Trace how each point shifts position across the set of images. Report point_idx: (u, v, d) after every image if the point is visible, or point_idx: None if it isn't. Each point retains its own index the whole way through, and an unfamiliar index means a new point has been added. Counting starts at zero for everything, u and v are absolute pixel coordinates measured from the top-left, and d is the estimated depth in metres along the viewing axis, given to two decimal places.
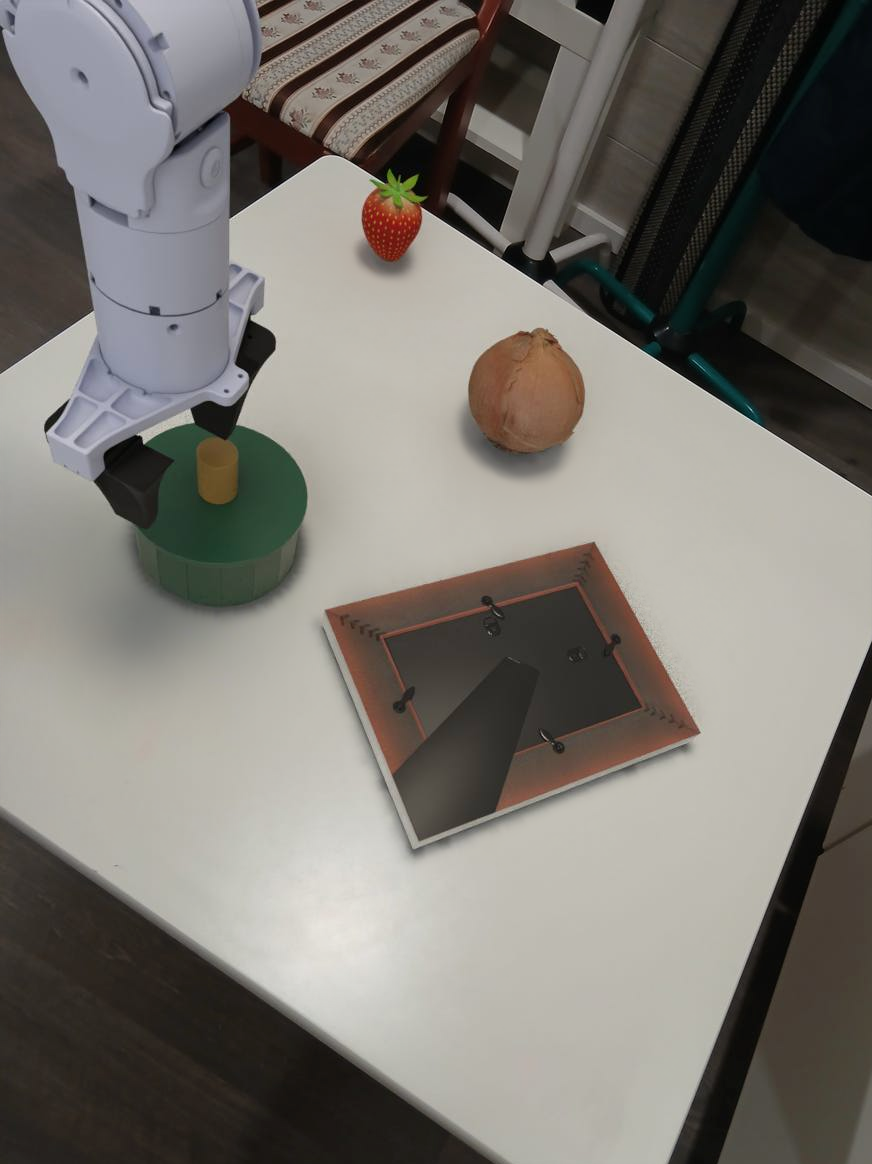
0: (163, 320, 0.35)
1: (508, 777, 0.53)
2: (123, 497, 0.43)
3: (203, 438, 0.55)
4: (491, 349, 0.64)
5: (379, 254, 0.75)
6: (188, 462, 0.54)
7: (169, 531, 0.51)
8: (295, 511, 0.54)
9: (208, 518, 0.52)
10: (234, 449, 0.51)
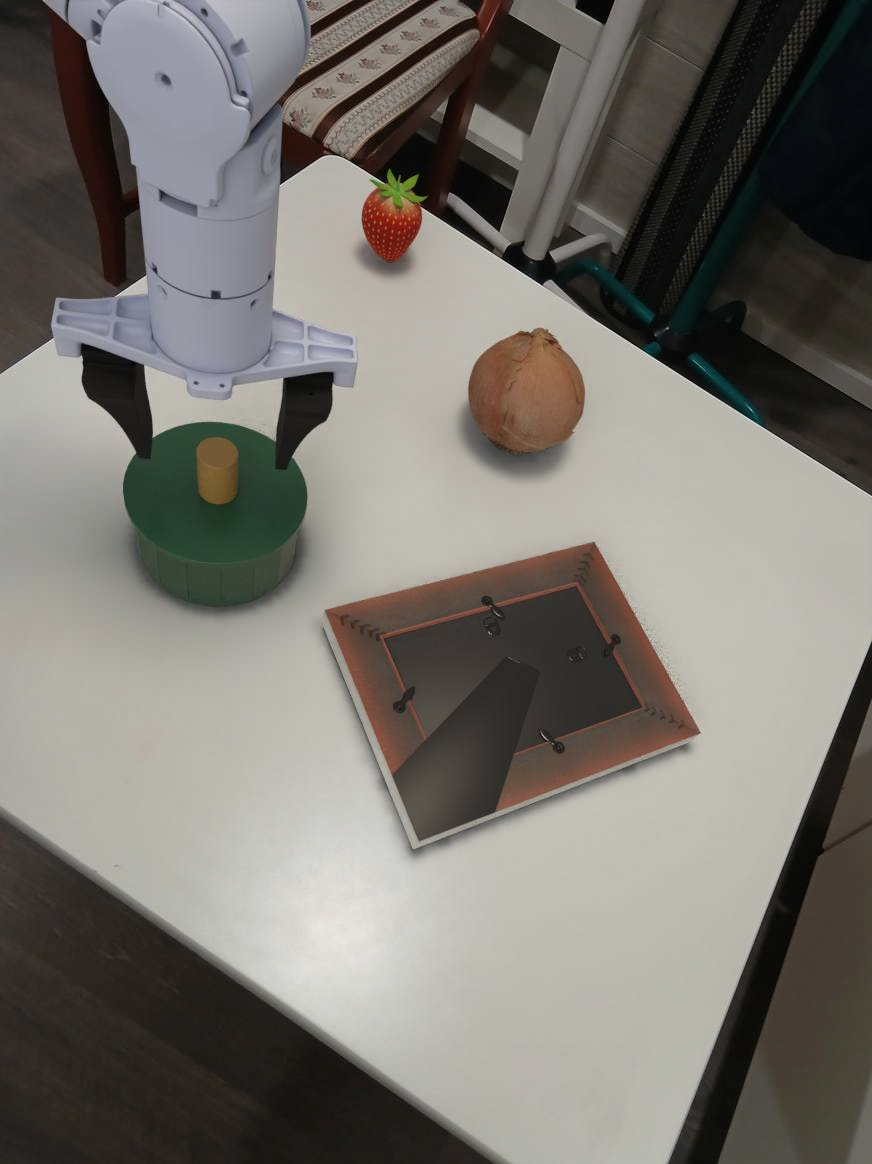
0: (155, 277, 0.37)
1: (508, 777, 0.53)
2: None
3: (203, 438, 0.55)
4: (491, 349, 0.64)
5: (379, 254, 0.75)
6: (188, 462, 0.54)
7: (169, 531, 0.51)
8: (295, 511, 0.54)
9: (208, 518, 0.52)
10: (234, 449, 0.51)
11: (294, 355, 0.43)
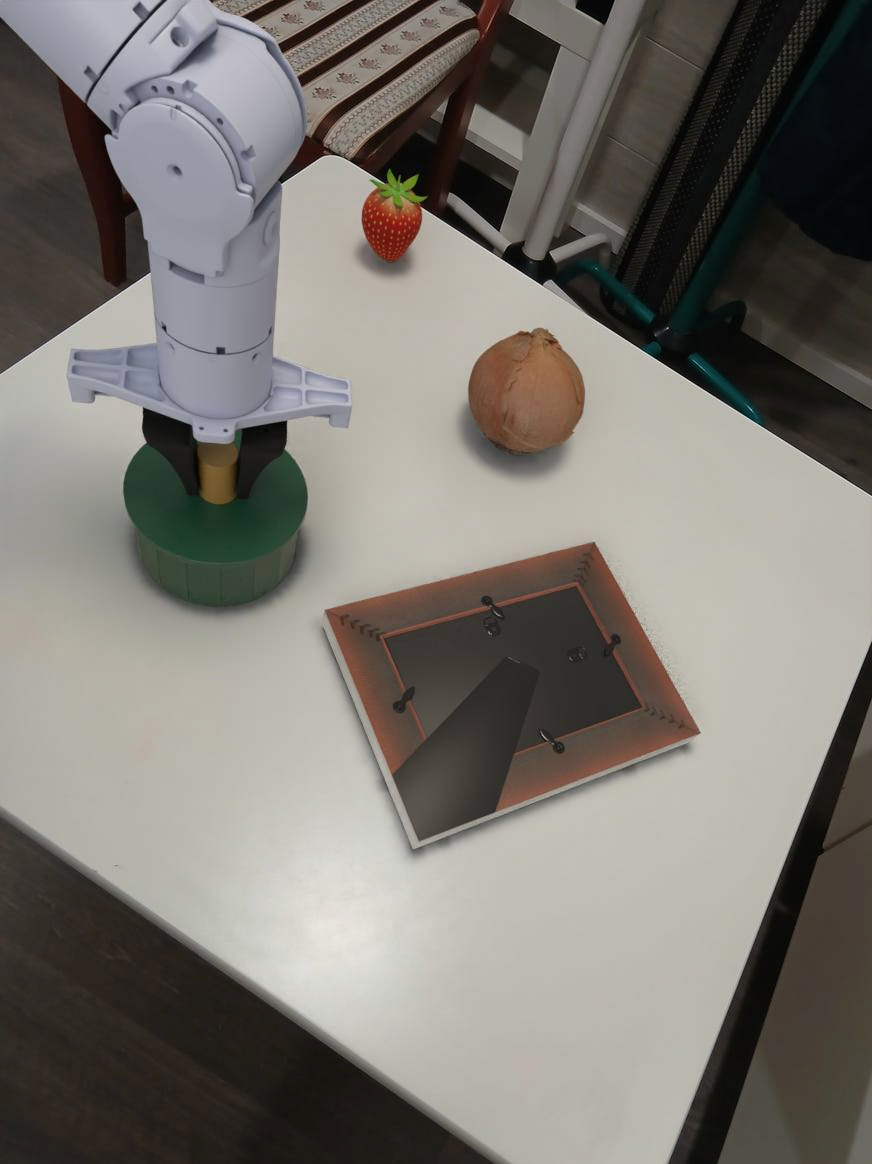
0: (164, 334, 0.40)
1: (508, 777, 0.53)
2: None
3: None
4: (491, 349, 0.64)
5: (379, 254, 0.75)
6: None
7: (169, 531, 0.51)
8: (296, 511, 0.54)
9: (208, 518, 0.52)
10: (235, 449, 0.51)
11: (293, 399, 0.46)
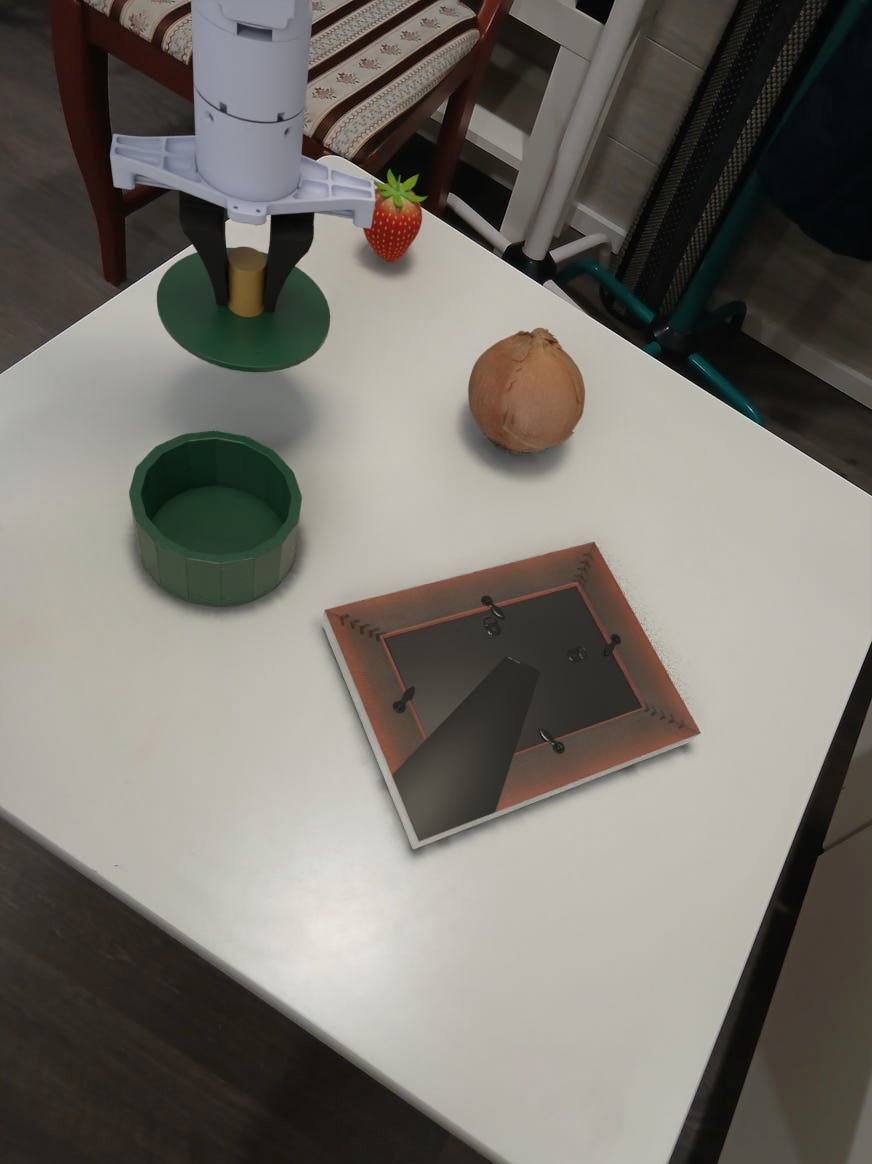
0: (203, 103, 0.43)
1: (508, 777, 0.53)
2: None
3: None
4: (491, 349, 0.64)
5: (379, 254, 0.75)
6: None
7: (201, 336, 0.54)
8: (319, 327, 0.57)
9: (237, 328, 0.55)
10: (263, 258, 0.54)
11: (320, 194, 0.49)
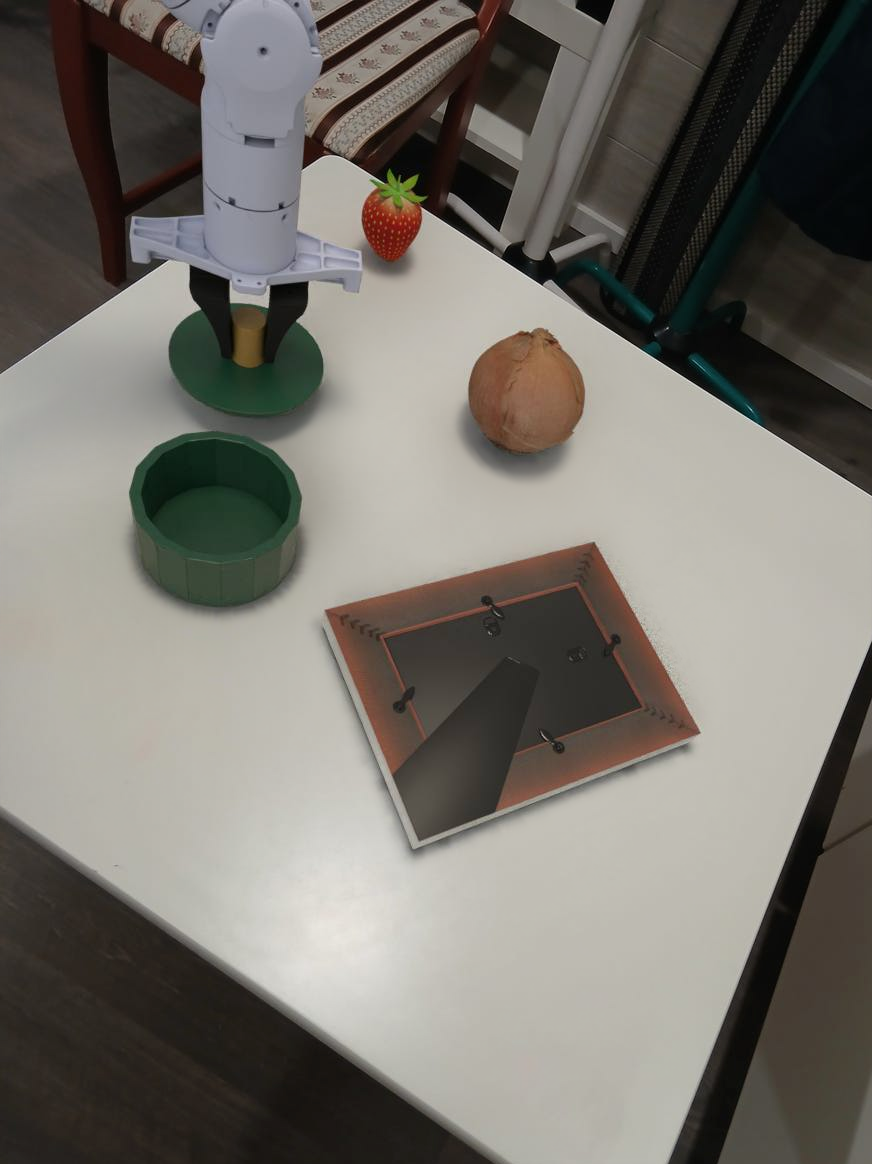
0: (211, 195, 0.50)
1: (508, 777, 0.53)
2: None
3: None
4: (491, 349, 0.64)
5: (379, 254, 0.75)
6: None
7: (208, 386, 0.61)
8: (314, 376, 0.64)
9: (240, 378, 0.62)
10: (263, 317, 0.60)
11: (313, 265, 0.56)
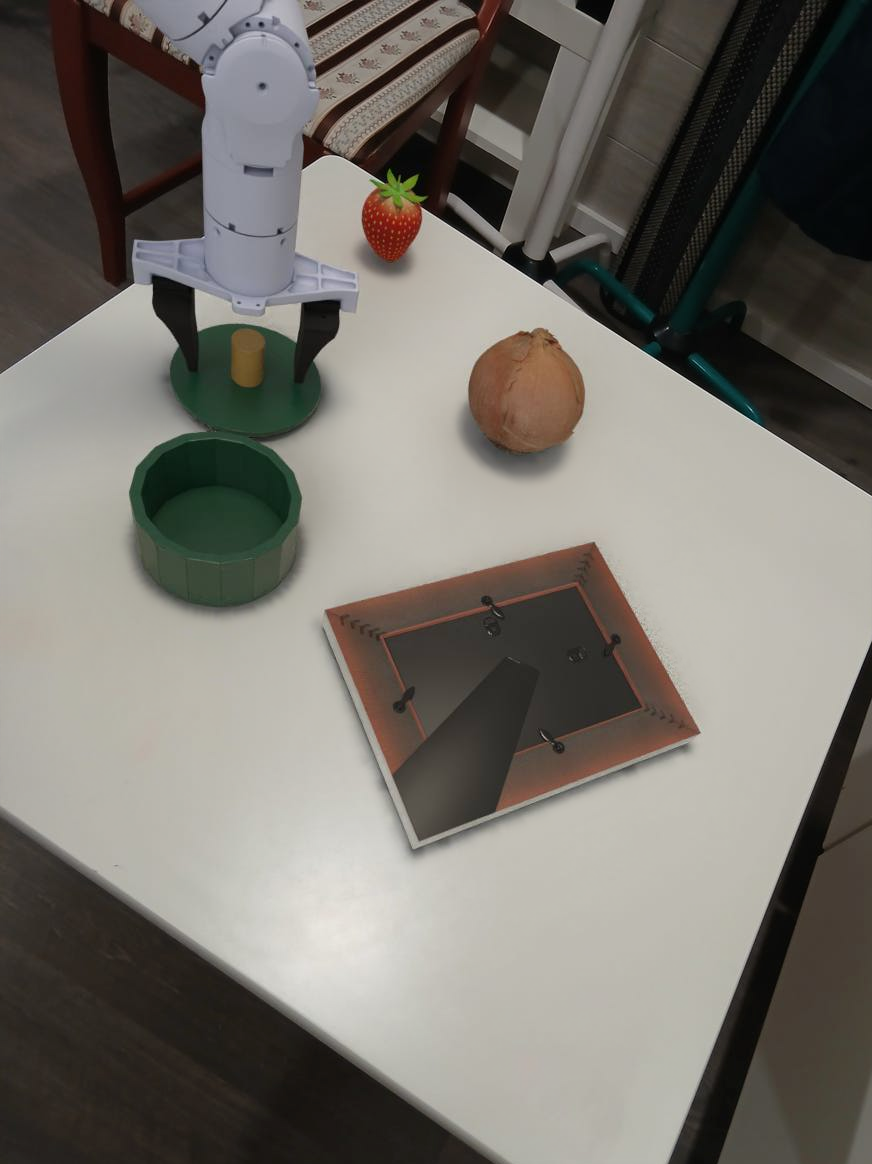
0: (211, 221, 0.51)
1: (508, 777, 0.53)
2: None
3: None
4: (491, 349, 0.64)
5: (379, 254, 0.75)
6: (222, 354, 0.65)
7: (208, 406, 0.62)
8: (311, 395, 0.65)
9: (240, 398, 0.63)
10: (262, 338, 0.62)
11: (311, 286, 0.57)
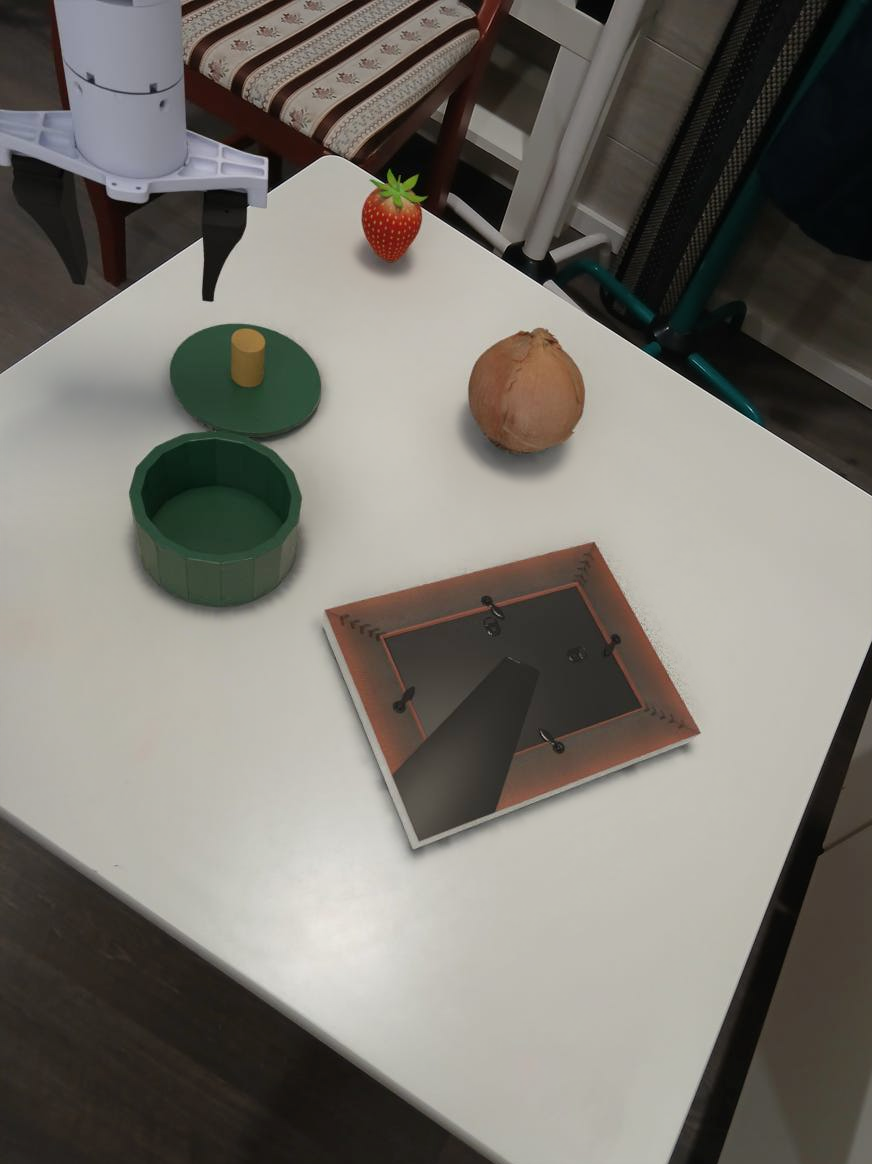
0: (71, 73, 0.41)
1: (508, 777, 0.53)
2: None
3: None
4: (491, 349, 0.64)
5: (379, 254, 0.75)
6: (222, 354, 0.65)
7: (208, 406, 0.62)
8: (311, 395, 0.65)
9: (240, 398, 0.63)
10: (262, 338, 0.62)
11: (209, 172, 0.47)
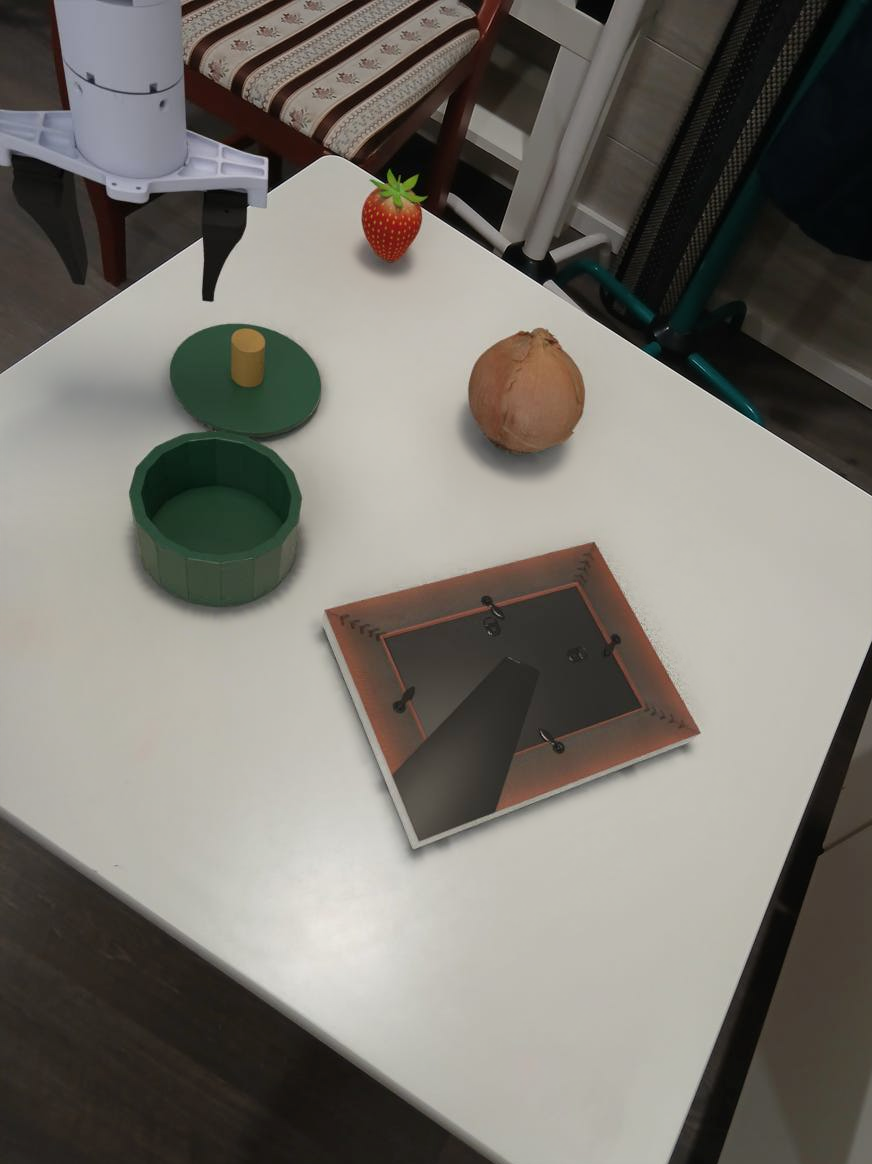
0: (71, 73, 0.41)
1: (508, 777, 0.53)
2: None
3: None
4: (491, 349, 0.64)
5: (379, 254, 0.75)
6: (222, 354, 0.65)
7: (208, 406, 0.62)
8: (311, 395, 0.65)
9: (240, 398, 0.63)
10: (262, 338, 0.62)
11: (209, 172, 0.47)
